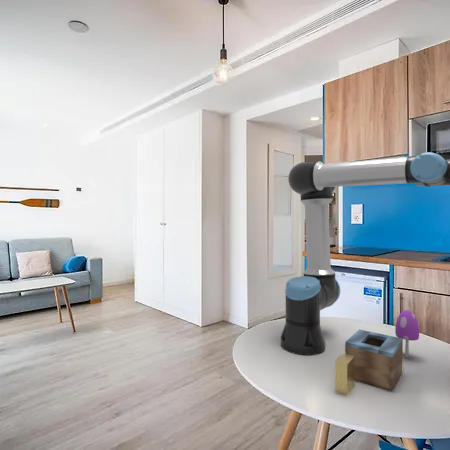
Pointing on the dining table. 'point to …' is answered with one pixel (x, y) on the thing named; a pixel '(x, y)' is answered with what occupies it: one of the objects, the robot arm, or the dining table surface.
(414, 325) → the toy
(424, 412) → the dining table surface
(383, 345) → the coin box
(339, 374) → the tan rectangular box
